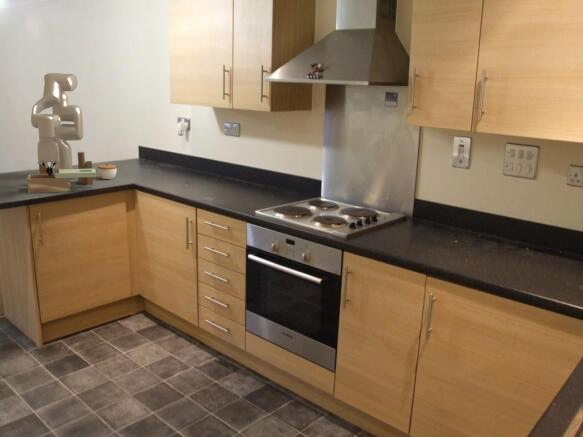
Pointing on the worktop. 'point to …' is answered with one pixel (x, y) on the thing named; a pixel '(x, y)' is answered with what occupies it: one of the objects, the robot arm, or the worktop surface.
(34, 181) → the base
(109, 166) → the lidded jar
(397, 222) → the worktop surface
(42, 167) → the key peg
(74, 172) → the toolbox lid
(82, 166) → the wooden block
